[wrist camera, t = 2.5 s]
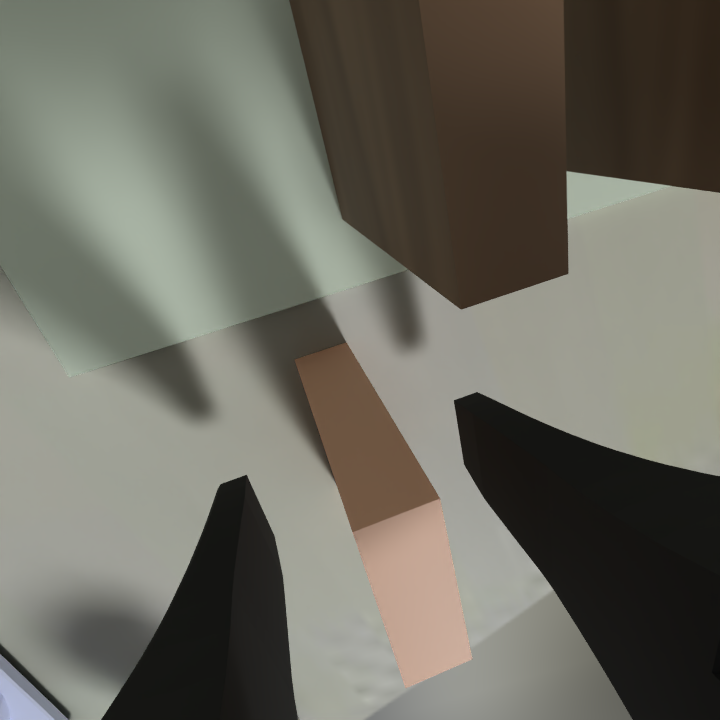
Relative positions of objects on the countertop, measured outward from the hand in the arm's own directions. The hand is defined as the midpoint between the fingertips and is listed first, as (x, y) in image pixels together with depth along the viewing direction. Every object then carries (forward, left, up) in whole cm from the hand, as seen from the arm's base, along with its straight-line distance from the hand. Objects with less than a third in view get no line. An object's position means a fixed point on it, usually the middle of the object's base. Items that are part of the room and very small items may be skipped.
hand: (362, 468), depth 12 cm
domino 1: (+2, +8, -2) cm, 8 cm away
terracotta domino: (0, 0, -2) cm, 2 cm away
